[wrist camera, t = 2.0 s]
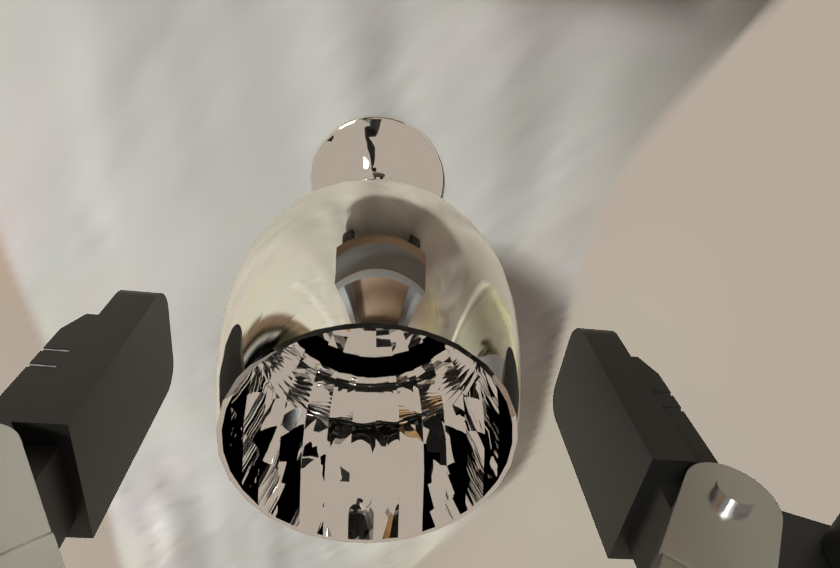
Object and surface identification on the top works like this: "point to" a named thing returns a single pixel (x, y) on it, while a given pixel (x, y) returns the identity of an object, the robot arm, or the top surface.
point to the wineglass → (369, 350)
